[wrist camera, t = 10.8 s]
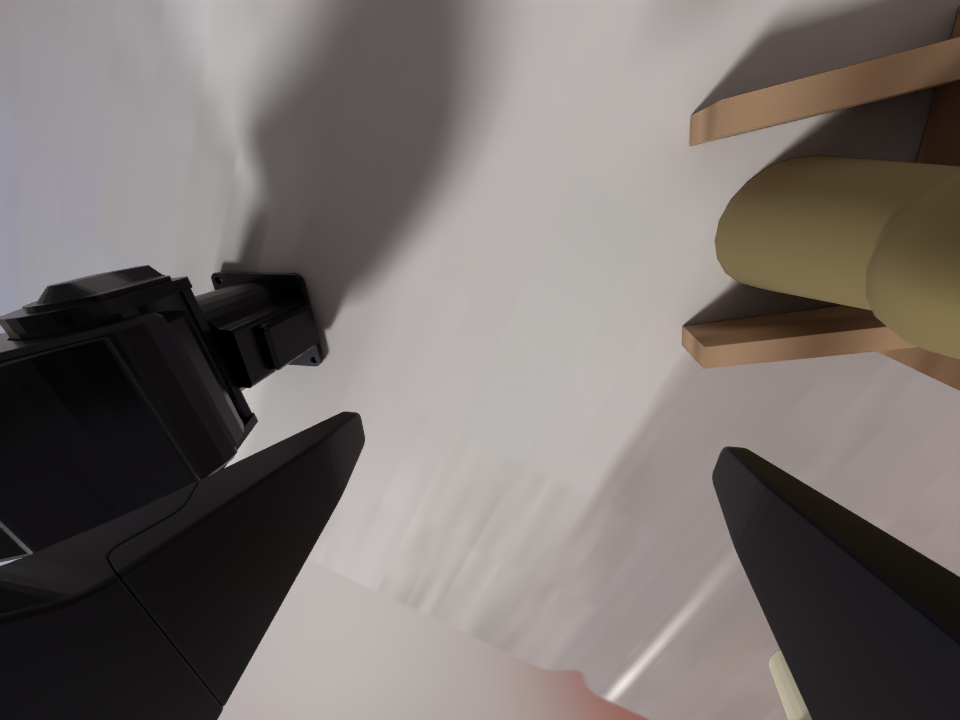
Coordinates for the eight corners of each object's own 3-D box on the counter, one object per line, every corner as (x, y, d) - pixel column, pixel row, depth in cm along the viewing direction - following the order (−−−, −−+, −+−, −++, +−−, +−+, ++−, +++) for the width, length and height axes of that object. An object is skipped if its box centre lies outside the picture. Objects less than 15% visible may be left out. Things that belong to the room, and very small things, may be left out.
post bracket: (680, 364, 20) (770, 474, 12) (692, 80, 15) (869, -53, 7) (911, 340, 18) (1210, 460, 10) (1032, -15, 12) (1968, -412, 4)
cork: (849, 124, 15) (1471, -16, 5) (872, 251, 16) (1354, 336, 7) (699, 203, 17) (916, 218, 7) (733, 307, 18) (943, 434, 9)
